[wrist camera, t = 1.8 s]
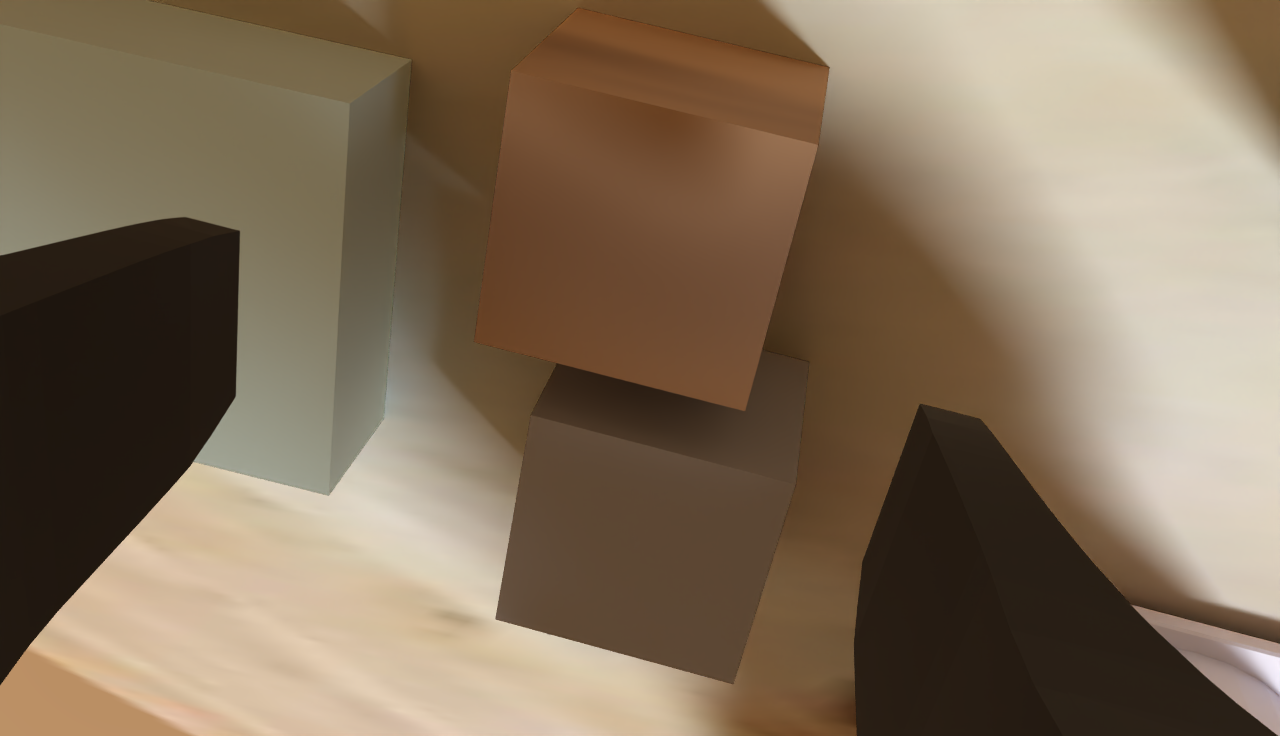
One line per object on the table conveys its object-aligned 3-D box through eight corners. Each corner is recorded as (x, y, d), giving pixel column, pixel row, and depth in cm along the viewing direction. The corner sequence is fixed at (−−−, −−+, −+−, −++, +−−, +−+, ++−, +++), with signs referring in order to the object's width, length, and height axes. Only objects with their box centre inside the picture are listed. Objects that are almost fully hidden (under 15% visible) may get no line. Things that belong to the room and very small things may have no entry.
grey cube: (755, 539, 23) (732, 684, 19) (552, 485, 23) (495, 619, 20) (809, 359, 21) (795, 484, 17) (587, 302, 21) (530, 414, 18)
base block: (389, 409, 23) (328, 495, 21) (51, 327, 24) (-51, 400, 21) (419, 54, 20) (349, 103, 17) (22, -34, 20) (-104, 0, 18)
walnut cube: (767, 294, 20) (745, 411, 17) (542, 238, 21) (474, 342, 17) (829, 65, 18) (818, 144, 15) (579, 6, 19) (510, 70, 15)
